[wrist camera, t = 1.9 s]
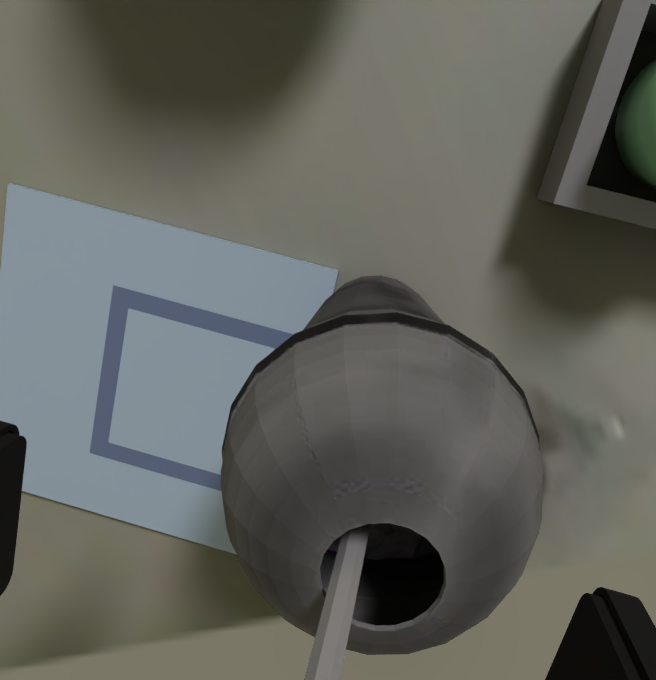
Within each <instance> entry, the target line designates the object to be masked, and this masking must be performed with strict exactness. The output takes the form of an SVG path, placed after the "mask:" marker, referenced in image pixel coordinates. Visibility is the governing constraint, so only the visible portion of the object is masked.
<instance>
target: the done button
mask: <svg viewBox="0 0 656 680" xmlns="http://www.w3.org/2000/svg"><path fill="white" fill-rule="evenodd" d="M615 134H616V143H617V147H618V151H619V154H620V156H621V159H622V161H623V162H624V164H625V166H626V168H627V169H628V170H629V171H630V172H631V174H632V175H633V176H634V177H635V178H637V179H638V180H639V181H640V182H642V183H643V184H645V185H646V186H648V187H650V188H652V189H654V190H656V59H655V60H653V61H652V62H650V63H649V64H648V65H647V66H646V67H645V68H643V69H642V70H641V72H640V73H639V74H638V75H637V76H636V77H635V78H634V80H633V81H632V82H631V84H630V85H629V87H628V89H627V90H626V92H625V94H624V96H623V98H622V101H621V103H620V106H619V109H618V113H617V118H616V129H615Z"/></svg>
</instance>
